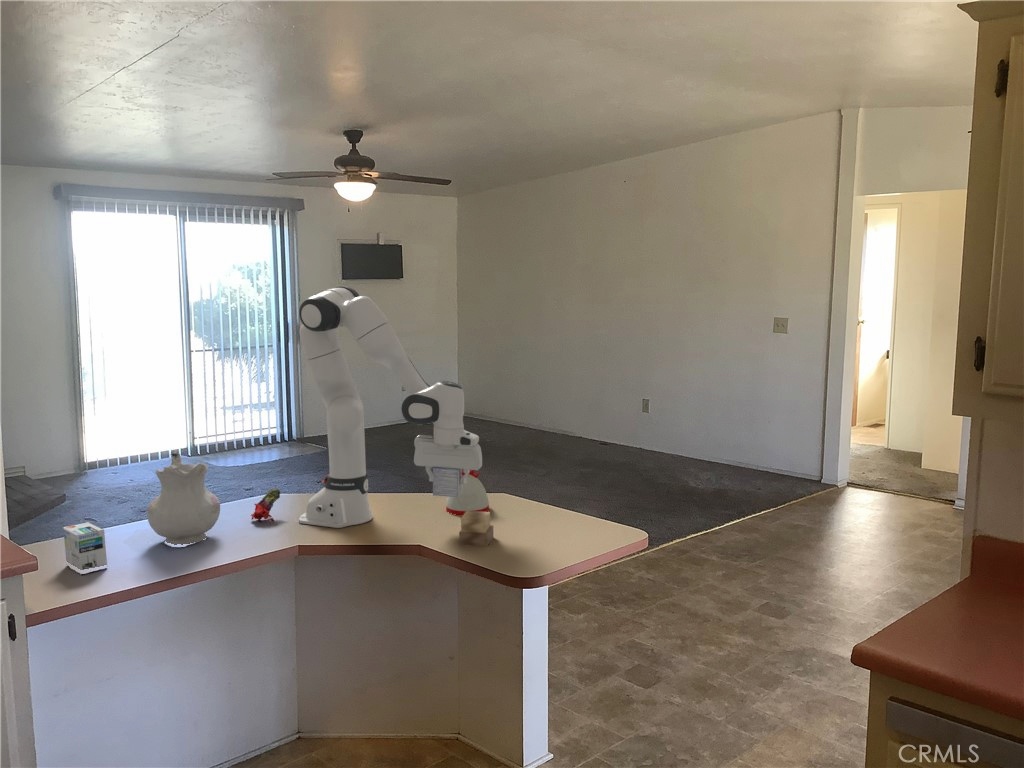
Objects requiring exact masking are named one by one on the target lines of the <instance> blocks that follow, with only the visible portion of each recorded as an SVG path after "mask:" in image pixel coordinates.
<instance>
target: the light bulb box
mask: <svg viewBox="0 0 1024 768" xmlns="http://www.w3.org/2000/svg"><path fill="white" fill-rule="evenodd" d="M62 530H63V540H64V541H63V542H64V552H65V562H66V561H67V562H68V563H70V564H71V565H73V566H75V567H77V568H78V569H80V570H84V569H89V568H95V567H100V566H104V565H107V566H108V558H107V549H106V548H107V547H106V537H105V536H106V535H105V529H103V528H101V527H99V526H96V525H95V524H93V523H91V522H88V521H87V522H83V523H77V524H73V525H68V526H64V527H62Z"/></svg>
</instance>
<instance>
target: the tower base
mask: <svg viewBox="0 0 1024 768" xmlns="http://www.w3.org/2000/svg"><path fill="white" fill-rule="evenodd" d="M458 532H459V534H458V535H459V536H458V537H459V538H458V540H459V544H460V545H459V546H467V545H478V546H477V547H484V546H487V547H488V546H489V545H490V543H491V542H492V540H493V539H494V538H495V537H494V525H493V524H490V527H489V529H488V530H487V532H486V533H472V532H461V530H459V531H458ZM493 537H494V538H493ZM488 544H489V545H488Z"/></svg>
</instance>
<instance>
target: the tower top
mask: <svg viewBox="0 0 1024 768" xmlns="http://www.w3.org/2000/svg"><path fill="white" fill-rule="evenodd" d="M490 525H491V511H488V512H478V511H466V512H465V514H464V515H463V516H461V518H460V531H461V532H472V533H486V532H487V530H488V529H489V527H490Z"/></svg>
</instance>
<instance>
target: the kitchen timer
mask: <svg viewBox="0 0 1024 768" xmlns="http://www.w3.org/2000/svg"><path fill="white" fill-rule="evenodd" d="M477 471H478V472H476V474H475V470H470V472H469V474H468V475H467V477H466V483H465V484H462V494H461V495H460V496H459V497H447V498H446V504H445V508H446V512H447V513H448V512H449V513H448V514H450V513H452V514H451V515H453V514H456V515H455V516H458V515H464V514H465V512H466V511H478V512H487V511H488V512H489V510H490V504H489V498H488V494H487V491H486V489H485V486H484V485H483V483H482V482H481V481H480V480H479V478H478V476H479V475H480V474H479V473H480V471H479V470H477ZM464 475H465V473H464V469H462V477H463V476H464Z"/></svg>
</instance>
